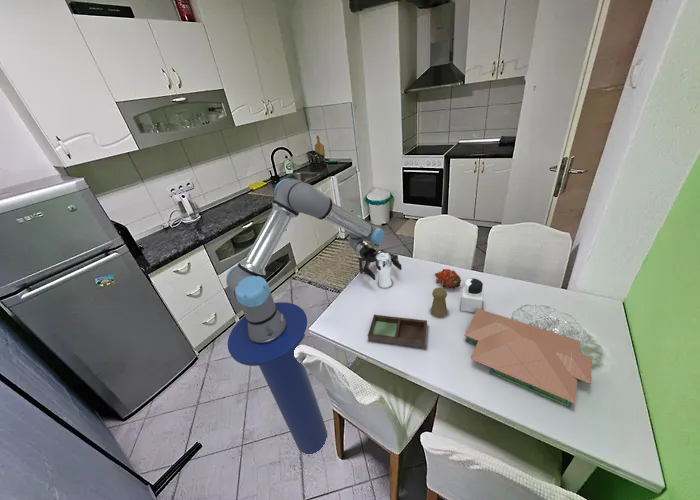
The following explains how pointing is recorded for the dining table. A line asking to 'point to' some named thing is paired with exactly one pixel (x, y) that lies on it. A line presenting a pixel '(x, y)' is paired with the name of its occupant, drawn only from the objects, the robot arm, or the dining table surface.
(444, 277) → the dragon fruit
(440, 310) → the salt shaker
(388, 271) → the beer glass
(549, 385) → the house
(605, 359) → the dining table surface
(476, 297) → the medicine bottle
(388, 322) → the caddy
